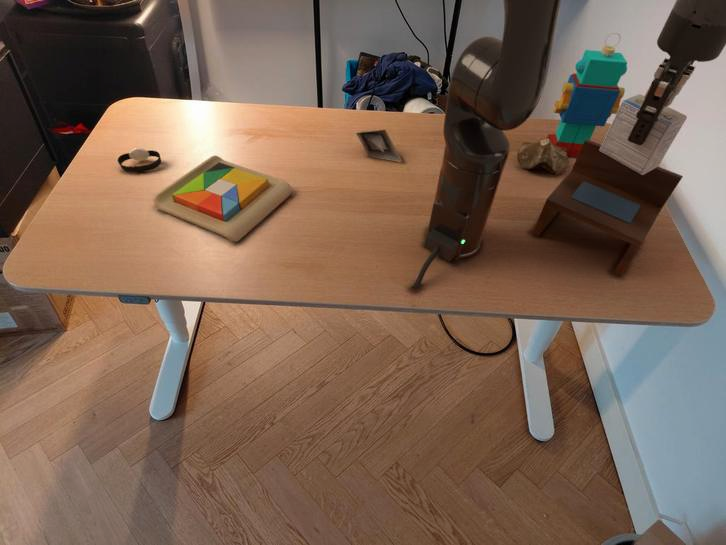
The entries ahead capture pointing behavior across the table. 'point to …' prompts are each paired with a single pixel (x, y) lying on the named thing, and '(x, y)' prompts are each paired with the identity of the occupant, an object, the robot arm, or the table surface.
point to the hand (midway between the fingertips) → (641, 133)
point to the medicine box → (655, 143)
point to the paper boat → (378, 145)
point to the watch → (139, 155)
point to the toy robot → (589, 98)
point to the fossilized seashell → (543, 156)
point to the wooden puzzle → (223, 197)
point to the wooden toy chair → (610, 198)
